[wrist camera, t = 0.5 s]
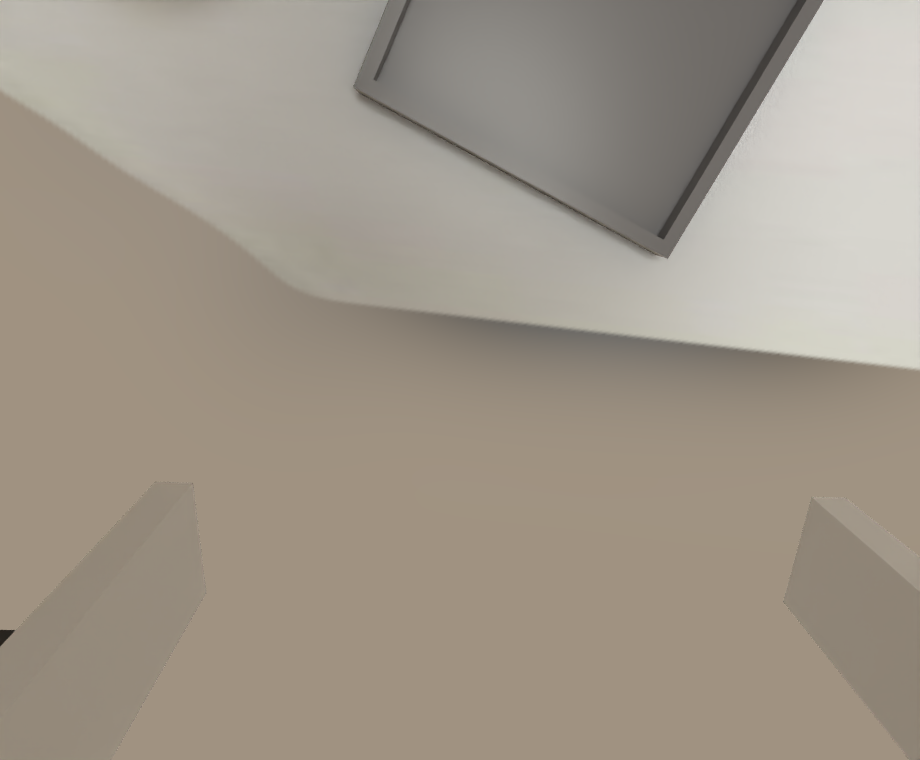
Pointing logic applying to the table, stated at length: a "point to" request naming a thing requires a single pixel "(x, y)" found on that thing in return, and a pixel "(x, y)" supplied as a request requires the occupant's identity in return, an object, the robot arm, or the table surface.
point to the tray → (589, 93)
